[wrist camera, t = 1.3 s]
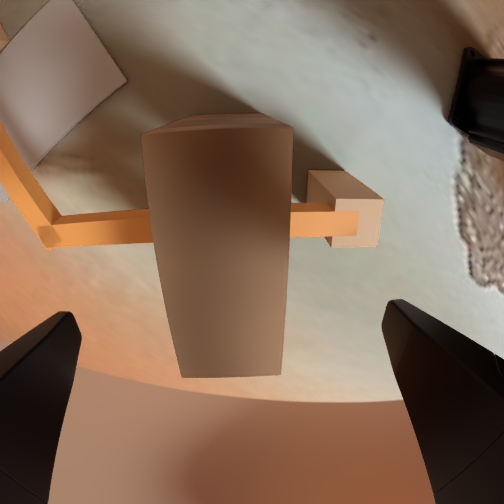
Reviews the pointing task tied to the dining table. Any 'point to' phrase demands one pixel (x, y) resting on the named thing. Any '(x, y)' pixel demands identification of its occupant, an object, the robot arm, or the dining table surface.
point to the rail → (138, 221)
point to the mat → (52, 80)
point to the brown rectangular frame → (222, 239)
